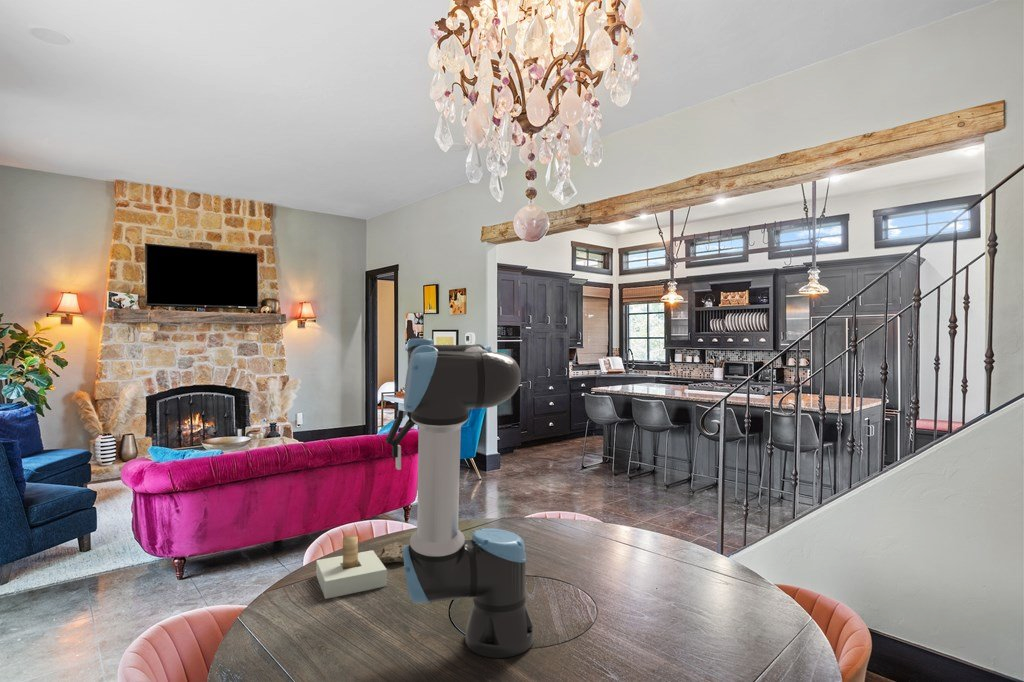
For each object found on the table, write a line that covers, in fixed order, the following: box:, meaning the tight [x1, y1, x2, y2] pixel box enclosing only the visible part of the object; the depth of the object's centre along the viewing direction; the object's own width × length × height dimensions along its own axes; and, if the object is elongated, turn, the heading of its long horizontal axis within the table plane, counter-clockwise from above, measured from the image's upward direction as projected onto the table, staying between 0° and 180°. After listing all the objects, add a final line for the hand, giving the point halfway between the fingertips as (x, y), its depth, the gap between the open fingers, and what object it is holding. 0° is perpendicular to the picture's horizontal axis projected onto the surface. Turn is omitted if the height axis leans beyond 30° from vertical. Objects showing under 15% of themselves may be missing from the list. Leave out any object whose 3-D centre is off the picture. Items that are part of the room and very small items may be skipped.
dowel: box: [342, 534, 359, 570], centre depth 151 cm, size 4×4×12 cm
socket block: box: [315, 549, 388, 600], centre depth 151 cm, size 16×16×4 cm
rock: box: [378, 541, 408, 564], centre depth 166 cm, size 11×11×4 cm
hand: (421, 466), depth 156 cm, fingers open, 13 cm apart
